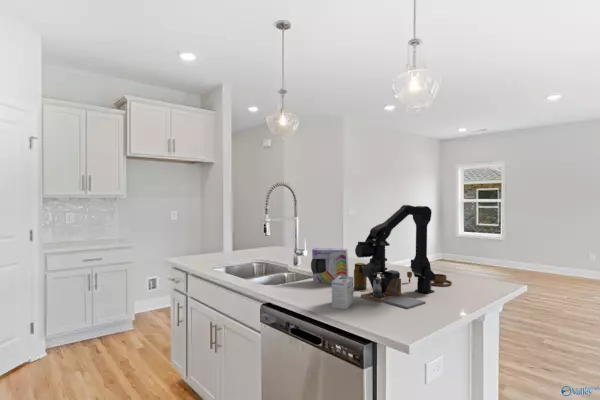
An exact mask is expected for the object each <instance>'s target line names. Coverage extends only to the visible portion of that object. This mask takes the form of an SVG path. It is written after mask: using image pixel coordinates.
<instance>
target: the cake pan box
mask: <svg viewBox="0 0 600 400" xmlns="http://www.w3.org/2000/svg"><path fill="white" fill-rule="evenodd" d="M348 250H349V249H348V248H333V247H314V248H312V249H311V253H312V255H311V257H312V259H311V261H310V269H311V273H312V283H321V284H322V283H323V284H332V281H333V280H335V279H336V278H337V277H338V276H346V277H350V275H349V273H350V272H349V253H348Z"/></svg>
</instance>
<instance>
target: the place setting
mask: <svg viewBox="0 0 600 400" xmlns="http://www.w3.org/2000/svg"><path fill="white" fill-rule="evenodd" d="M434 274H435V275H436V277H435V280H432V281H431V286H435V287H451V286H452V284H453V282H452V281H451V280H450V279H448V280H447V274H443V273H434ZM406 275H407V278H408V280H407V281H408V284H411V282H412V281H411V278H412V277H413V272H412V271H406Z"/></svg>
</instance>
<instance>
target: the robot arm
mask: <svg viewBox="0 0 600 400" xmlns="http://www.w3.org/2000/svg"><path fill="white" fill-rule="evenodd" d="M432 214H433V213H432V209H431V208H430V207H429V206H426V205H425V206H424V205H416V206H414V205H410V204H403V205H401V206H400V208H399V209H398V210H396V212H394V213H393V214H391V216H390V217H389V218H387V219H386V220H385V221H383V222H382V223H379V224H377V225H376V226H373V227H372V228H370V230H369V234H368V235H367V237H366V239H365V240H364V241H357V245H356V246H355V249H354V253H355V255H356V257H357V258H359V259H361V258H369V262H368V263H365V264H366V265H365V266H360V268H359V273H364V275H365V276H367V278H368V281H369V282H370V285H371V289H373V278H376V277H378V275H379V276H380V275H383V278H380V279H381V281H382V293H385V291H386V289H387V287H388V285H389V283H390V281H391V280H392V279H397V278H400V277H401V273H400V272H399V271H397V270H395V269H394V270H393V269H390V270H388V267H386V262H388V258H386V247H387V246H388V247H389V246H390V243H389V242H388V241H387V239H388V238H389V236H390V235H391V234H392V231H393V229H395V228H396V227H398V225H399V224H401V222H403V221H404V220H405V219H406V218H407V217H408V216H409V215H411V216H412V220H413V222H414V224H415V256H414V258H413V259H410V267H409V268H410V269H411V272H412V274H413V276H414V278H417V285H416V286H417V288H416V289H414V292H417V293H422V294H427V295H428V294H431V293H435V290H433V289H432V285H431V283H432V282H431V281H432V280H435V277H436V275H435V274H436V273H434V271H432V268H431V267H432V266H431V263H430V260H429V257H428V226H429V223H430V222H431V219H432ZM370 257H371V258H370ZM400 279H401V278H400Z"/></svg>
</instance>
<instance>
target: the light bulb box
mask: <svg viewBox="0 0 600 400" xmlns="http://www.w3.org/2000/svg"><path fill="white" fill-rule="evenodd" d="M353 287H354V276H349V277H346V276H338V277H337V278H336V279H335V280H333V281H332V283H331V308H334V309H342V310H348V309H349V308H350V307H351V305H352V304H353V303H354V289H353Z"/></svg>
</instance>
